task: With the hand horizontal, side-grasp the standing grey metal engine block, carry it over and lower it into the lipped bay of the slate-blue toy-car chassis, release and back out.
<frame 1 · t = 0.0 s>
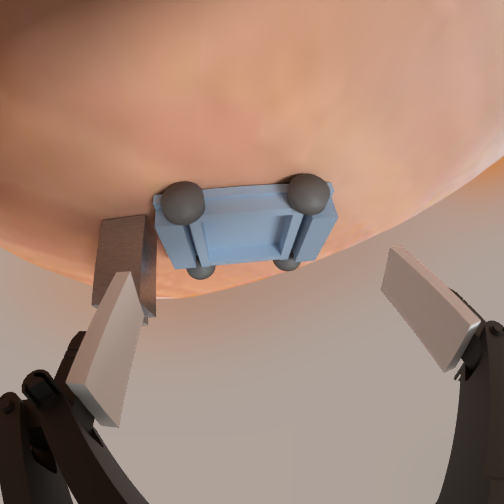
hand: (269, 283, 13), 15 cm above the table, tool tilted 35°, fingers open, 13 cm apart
chassis: (243, 219, 35), on the table
engine block: (130, 230, 34), on the table
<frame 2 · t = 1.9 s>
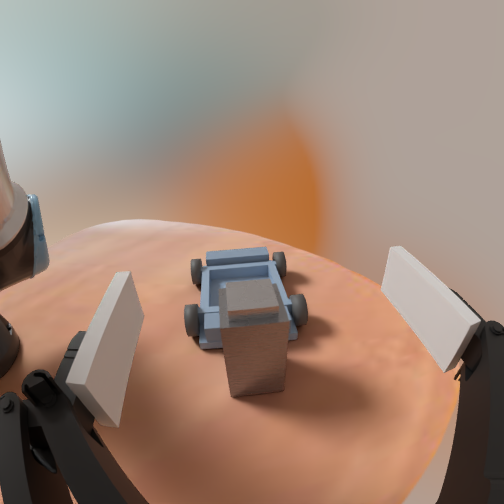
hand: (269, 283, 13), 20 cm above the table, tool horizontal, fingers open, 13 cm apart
chassis: (242, 300, 44), on the table
engine block: (254, 374, 31), on the table
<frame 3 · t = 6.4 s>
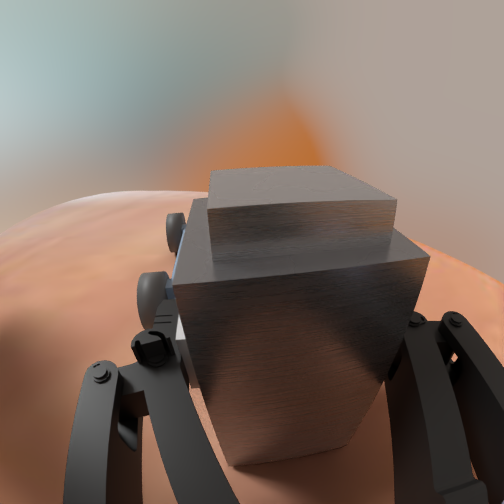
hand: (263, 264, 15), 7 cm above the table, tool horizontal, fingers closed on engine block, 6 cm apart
chassis: (248, 273, 26), on the table
engine block: (278, 412, 13), on the table, touching gripper
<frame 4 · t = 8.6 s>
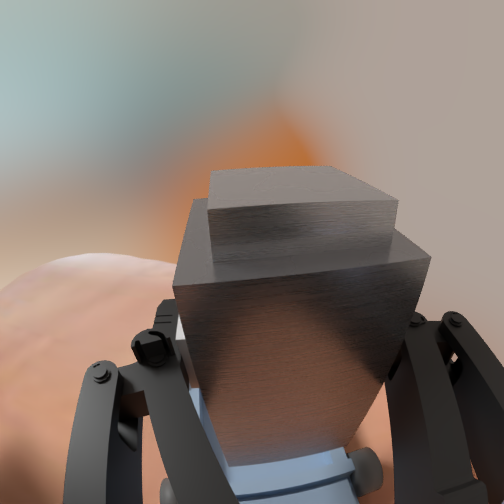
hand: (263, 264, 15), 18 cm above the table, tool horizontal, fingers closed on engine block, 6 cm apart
chassis: (260, 440, 21), on the table
engine block: (279, 413, 13), point 11 cm above the table, touching gripper
when the fingers open (9 cm above the table, at t = 10.8 s): engine block drops 1 cm, resting on chassis.
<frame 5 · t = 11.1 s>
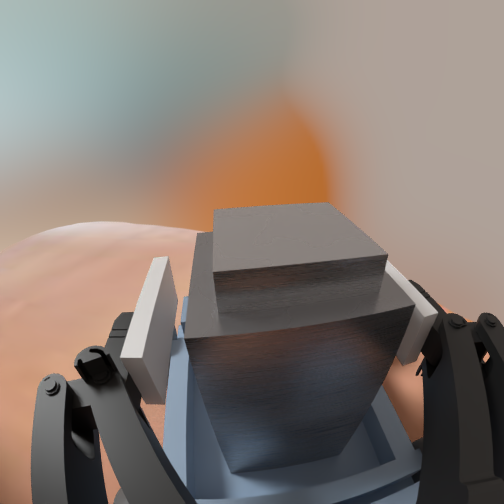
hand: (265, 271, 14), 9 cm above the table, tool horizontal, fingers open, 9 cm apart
chassis: (277, 431, 14), on the table
engine block: (277, 423, 14), point 1 cm above the table, touching chassis
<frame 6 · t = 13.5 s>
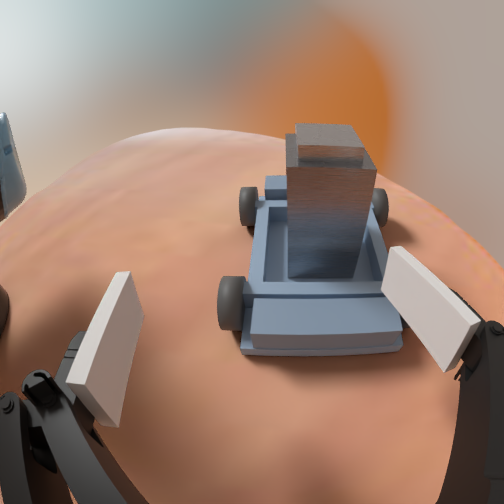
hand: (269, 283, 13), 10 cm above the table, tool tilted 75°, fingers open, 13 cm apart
chassis: (317, 262, 27), on the table
engine block: (318, 254, 26), point 1 cm above the table, touching chassis
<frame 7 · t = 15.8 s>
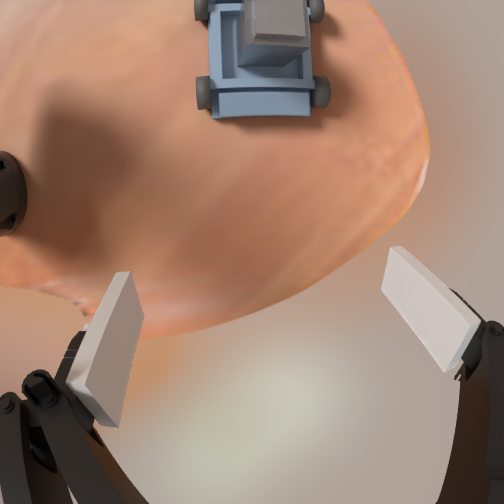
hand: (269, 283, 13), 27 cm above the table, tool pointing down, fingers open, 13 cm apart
chassis: (258, 48, 29), on the table
engine block: (259, 46, 28), point 1 cm above the table, touching chassis
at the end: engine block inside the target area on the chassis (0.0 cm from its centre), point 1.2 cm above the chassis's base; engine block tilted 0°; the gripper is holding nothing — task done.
